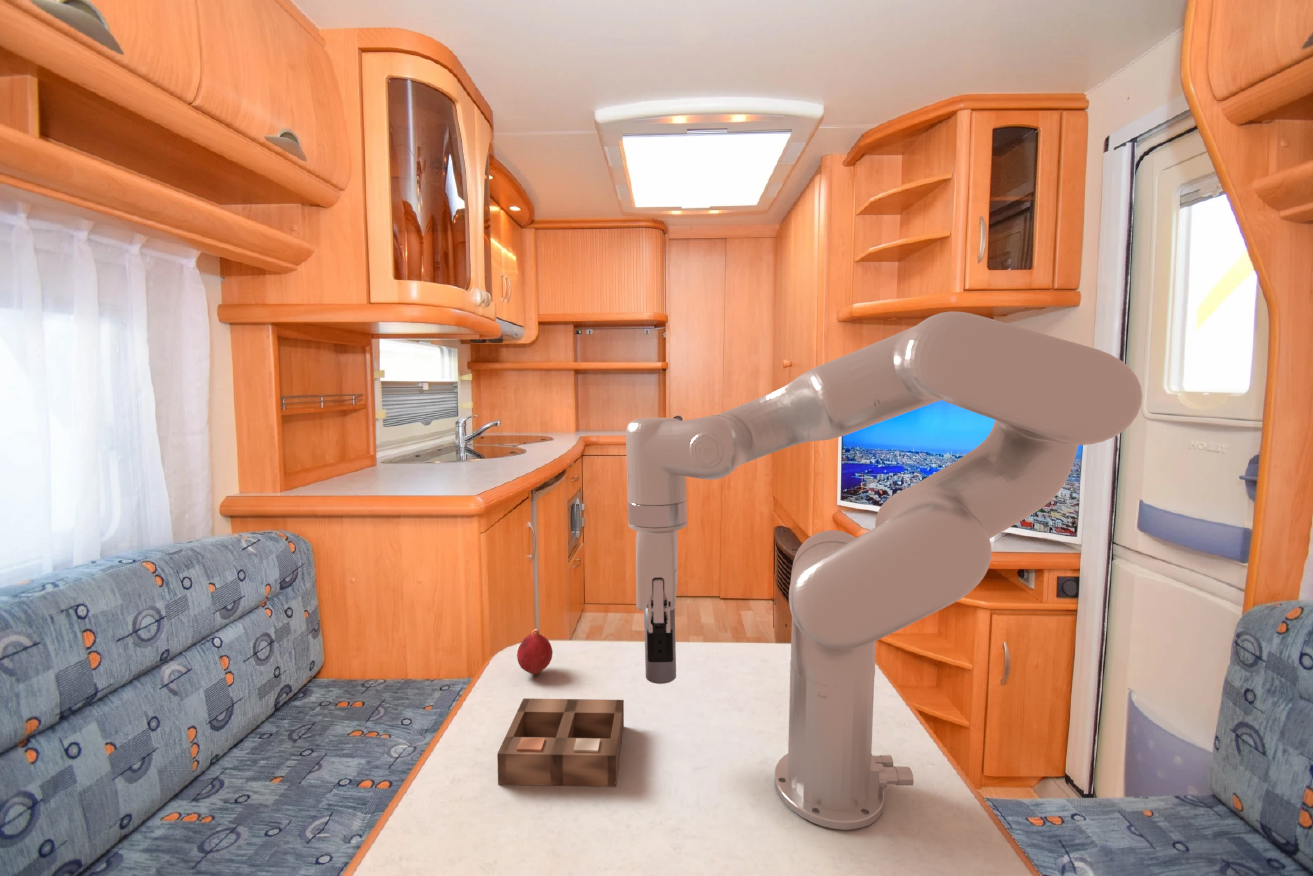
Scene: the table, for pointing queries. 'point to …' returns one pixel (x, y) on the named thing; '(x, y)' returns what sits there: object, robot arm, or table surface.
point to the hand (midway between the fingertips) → (660, 651)
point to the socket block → (563, 743)
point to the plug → (660, 670)
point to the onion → (534, 653)
